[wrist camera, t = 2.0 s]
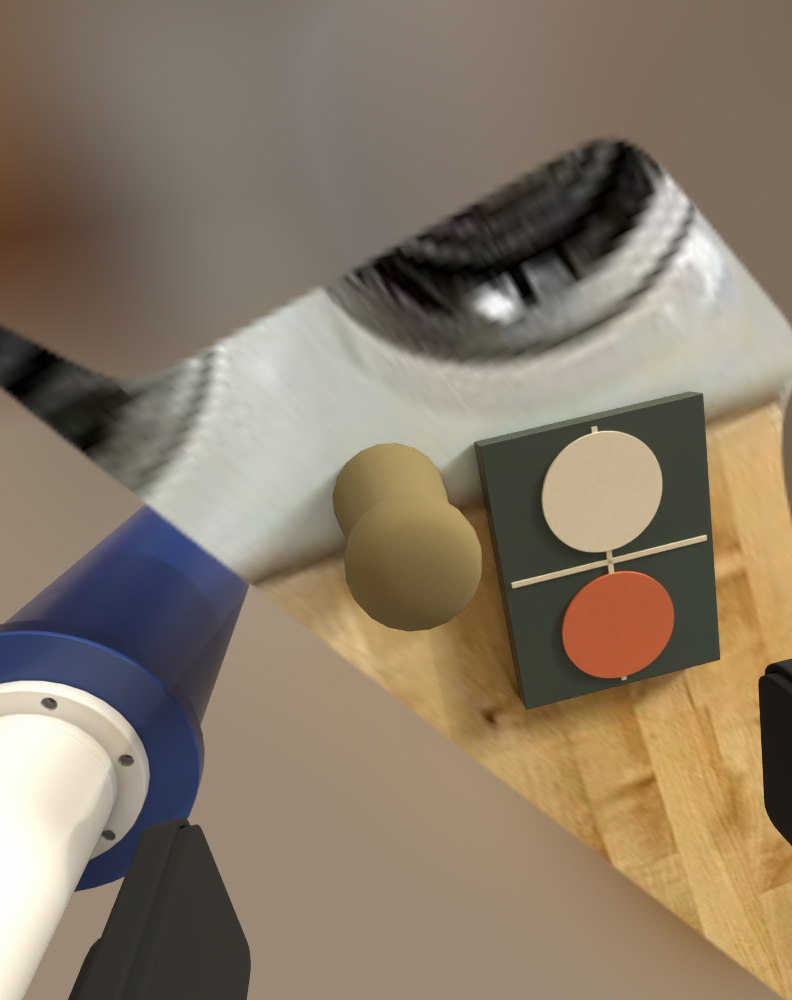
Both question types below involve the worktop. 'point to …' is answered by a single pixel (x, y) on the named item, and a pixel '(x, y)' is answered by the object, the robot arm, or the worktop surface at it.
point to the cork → (404, 539)
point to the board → (604, 547)
